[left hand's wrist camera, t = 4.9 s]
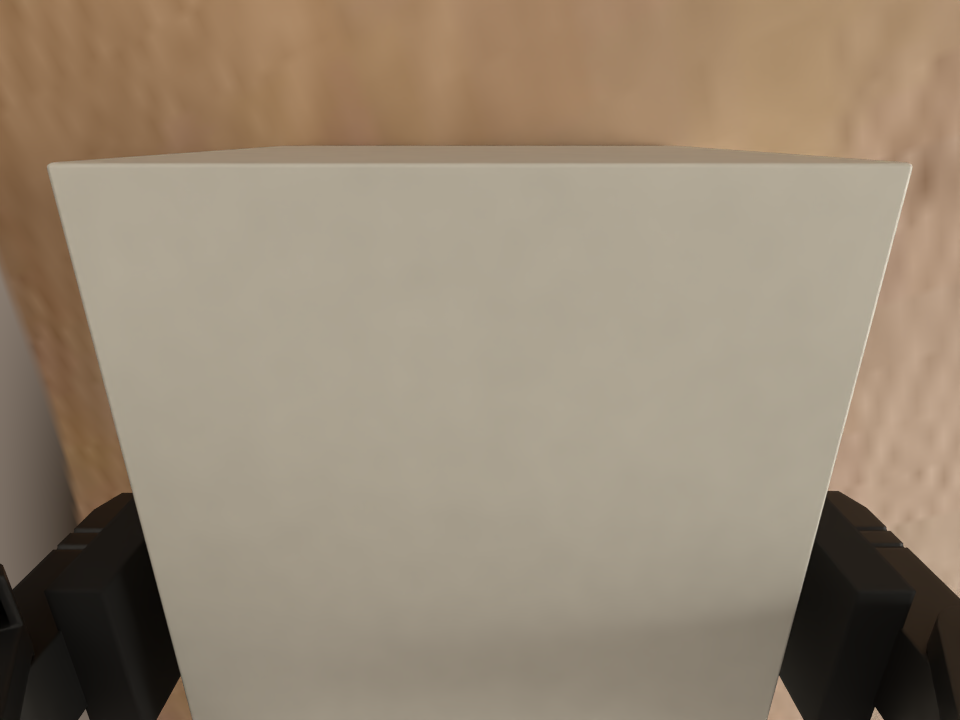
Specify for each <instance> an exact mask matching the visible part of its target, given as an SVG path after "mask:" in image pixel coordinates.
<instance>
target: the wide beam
mask: <svg viewBox="0 0 960 720" xmlns="http://www.w3.org/2000/svg"><path fill="white" fill-rule="evenodd" d="M47 170H48V174H49V178H50V181H51V185H52V189H53V193H54V197H55V200H56V204H57V208H58V212H59V216H60V219H61V223H62V227H63V231H64V235H65V238H66V242H67V246H68V250H69V253H70V257H71V261H72V265H73V269H74V272H75V276H76V280H77V284H78V288H79V291H80V295H81V299H82V303H83V307H84V310H85V314H86V318H87V322H88V325H89V329H90V333H91V337H92V341H93V344H94V348H95V352H96V356H97V360H98V363H99V367H100V371H101V375H102V378H103V382H104V386H105V390H106V394H107V397H108V401H109V405H110V409H111V413H112V416H113V420H114V424H115V428H116V432H117V435H118V439H119V443H120V447H121V450H122V454H123V458H124V462H125V466H126V469H127V473H128V477H129V481H130V485H131V488H132V492H133V496H134V500H135V504H136V507H137V511H138V515H139V519H140V522H141V526H142V530H143V534H144V538H145V541H146V545H147V549H148V553H149V557H150V560H151V564H152V568H153V572H154V576H155V579H156V583H157V587H158V591H159V594H160V598H161V602H162V606H163V610H164V613H165V617H166V621H167V625H168V629H169V632H170V636H171V640H172V644H173V648H174V651H175V655H176V659H177V663H178V666H179V670H180V674H181V678H182V682H183V685H184V689H185V693H186V697H187V701H188V704H189V708H190V712H191V716H192V720H767V718H768V714H769V711H770V707H771V703H772V699H773V695H774V692H775V688H776V684H777V680H778V676H779V673H780V669H781V665H782V661H783V657H784V654H785V650H786V646H787V642H788V638H789V635H790V631H791V627H792V623H793V620H794V616H795V612H796V608H797V604H798V601H799V597H800V593H801V589H802V585H803V582H804V578H805V574H806V570H807V566H808V563H809V559H810V555H811V551H812V547H813V544H814V540H815V536H816V532H817V528H818V525H819V521H820V517H821V513H822V509H823V506H824V502H825V498H826V494H827V490H828V487H829V483H830V479H831V475H832V472H833V468H834V464H835V460H836V456H837V453H838V449H839V445H840V441H841V437H842V434H843V430H844V426H845V422H846V418H847V415H848V411H849V407H850V403H851V399H852V396H853V392H854V388H855V384H856V380H857V377H858V373H859V369H860V365H861V361H862V358H863V354H864V350H865V346H866V342H867V339H868V335H869V331H870V327H871V324H872V320H873V316H874V312H875V308H876V305H877V301H878V297H879V293H880V289H881V286H882V282H883V278H884V274H885V270H886V267H887V263H888V259H889V255H890V251H891V248H892V244H893V240H894V236H895V232H896V229H897V225H898V221H899V217H900V213H901V210H902V206H903V202H904V198H905V194H906V191H907V187H908V183H909V179H910V175H911V172H912V165H911V164H909V163H907V162H894V161H880V160H866V159H852V158H838V157H824V156H811V155H797V154H783V153H769V152H755V151H741V150H727V149H713V148H700V147H686V146H274V147H260V148H247V149H233V150H219V151H205V152H191V153H177V154H163V155H149V156H135V157H121V158H108V159H94V160H80V161H66V162H52V163H50V164H48V165H47Z"/></svg>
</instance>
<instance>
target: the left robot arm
mask: <svg viewBox="0 0 960 720" xmlns="http://www.w3.org/2000/svg"><path fill="white" fill-rule="evenodd" d="M180 676H181V674H180V670H179V666H178V663H177V659H176V655H175V651H174V648H173V644H172V640H171V636H170V632H169V629H168V625H167V621H166V617H165V613H164V610H163V606H162V602H161V598H160V594H159V591H158V587H157V583H156V579H155V576H154V572H153V568H152V564H151V560H150V557H149V553H148V549H147V545H146V541H145V538H144V534H143V530H142V526H141V522H140V519H139V515H138V511H137V507H136V504H135V500H134V496H133V493H121V494H120V495H118V496H116V497H114V498H113V499H111V500H109V501H108V502H106V503H104V504H103V505H101V506H99V507H98V508H96V509H94V510H93V511H92V512H91V513H90V514H89V515H88V516H87V517H86V518H85V519H84V520H83V521H82V522H81V523H80V524H79V525H78V526H77V527H76V528H75V529H74V533H70V534H69V535H68V536H67V537H66V538H65V539H64V540H63V541H62V542H61V543H60V544H59V545H58V548H57V550H52V551H51V552H50V553H49V554H48V555H47V556H46V557H45V558H44V559H43V560H42V561H41V562H40V563H39V564H38V565H37V566H36V567H35V568H34V569H33V570H32V571H31V572H30V573H29V574H28V575H27V576H26V577H25V578H24V579H23V580H22V581H21V582H20V583H19V584H18V585H17V586H16V587H15V588H14V589H13V590H12V588H11V585H10V583H9V580H8V577H7V575H6V572H5V570H4V567H3V565H2V564H0V720H78V719H79V718H80V716H81V715H82V713H83V712H84V710H85V709H86V711H87V713H88V716H89V719H90V720H156V719H157V718H158V716H159V714H160V712H161V710H162V709H163V707H164V705H165V703H166V701H167V699H168V698H169V696H170V694H171V692H172V690H173V689H174V687H175V685H176V683H177V681H178V679H179V678H180ZM779 676H780V678H781V679H782V681H783V683H784V685H785V687H786V689H787V690H788V692H789V694H790V696H791V698H792V699H793V701H794V703H795V705H796V707H797V709H798V710H799V712H800V714H801V716H802V718H803V719H804V720H870V719H871V716H872V713H873V711H874V708H875V707H876V709H877V710H878V712H879V713H880V715H881V716H882V717H883V719H884V720H960V598H959V597H958V596H957V595H956V594H955V593H954V592H953V591H951V590H950V589H949V588H948V587H947V586H946V585H945V584H944V583H943V582H942V581H941V580H940V579H939V578H938V577H937V576H936V575H935V574H934V573H933V572H932V571H931V570H930V569H929V568H928V567H927V566H926V565H925V564H924V563H923V562H922V561H921V560H920V559H919V558H918V557H917V556H916V555H914V554H913V553H912V552H911V551H910V550H909V549H908V548H904V547H903V543H902V542H901V541H900V540H899V539H898V538H897V537H896V536H895V535H894V534H893V533H892V532H891V531H887V529H886V526H885V525H884V524H883V523H882V522H881V521H880V520H879V519H877V518H876V517H875V516H874V515H873V514H872V513H871V512H870V511H869V510H868V509H867V508H866V507H864V506H863V505H861V504H859V503H858V502H856V501H854V500H853V499H851V498H849V497H847V496H846V495H844V494H842V493H841V492H839V491H827V494H826V498H825V502H824V506H823V509H822V513H821V517H820V521H819V525H818V528H817V532H816V536H815V540H814V544H813V547H812V551H811V555H810V559H809V563H808V566H807V570H806V574H805V578H804V582H803V585H802V589H801V593H800V597H799V601H798V604H797V608H796V612H795V616H794V620H793V623H792V627H791V631H790V635H789V638H788V642H787V646H786V650H785V654H784V657H783V661H782V665H781V669H780V673H779Z"/></svg>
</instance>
